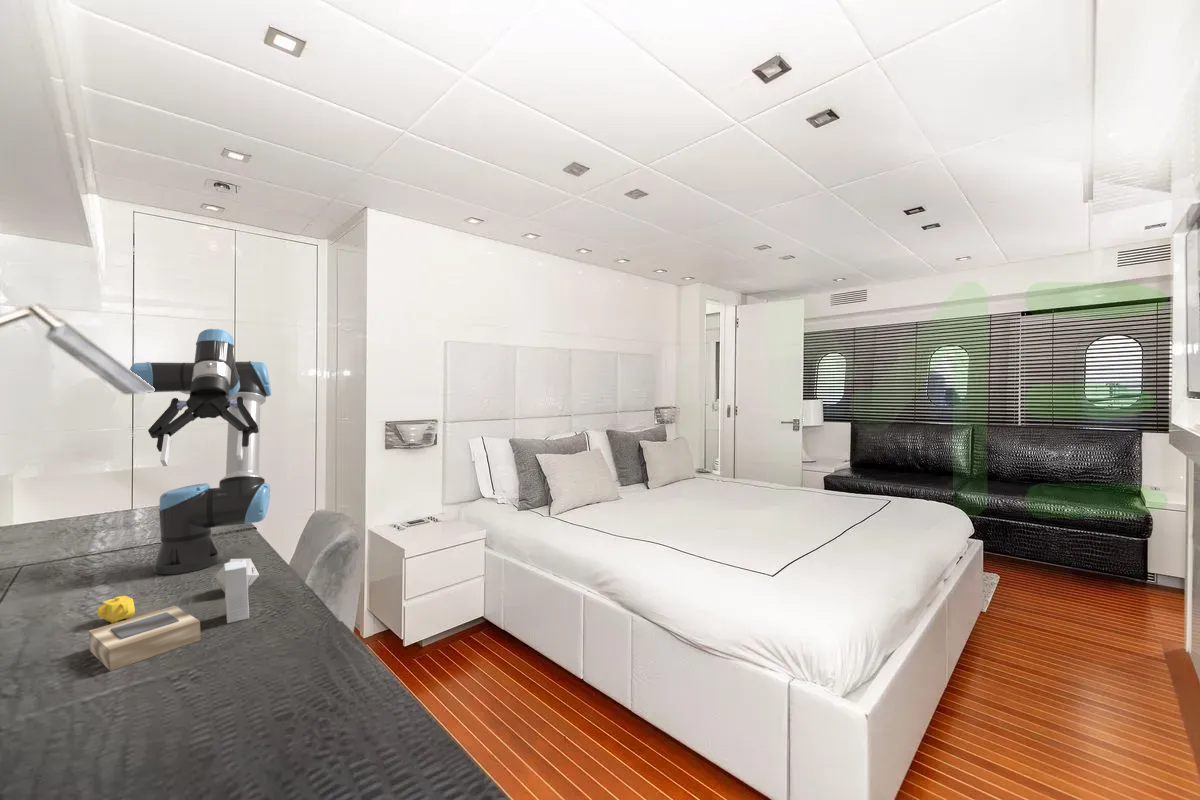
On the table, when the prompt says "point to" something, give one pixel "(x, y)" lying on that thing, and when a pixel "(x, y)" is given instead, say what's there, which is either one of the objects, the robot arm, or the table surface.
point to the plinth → (143, 637)
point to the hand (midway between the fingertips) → (202, 460)
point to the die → (251, 573)
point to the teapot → (116, 609)
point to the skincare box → (236, 591)
